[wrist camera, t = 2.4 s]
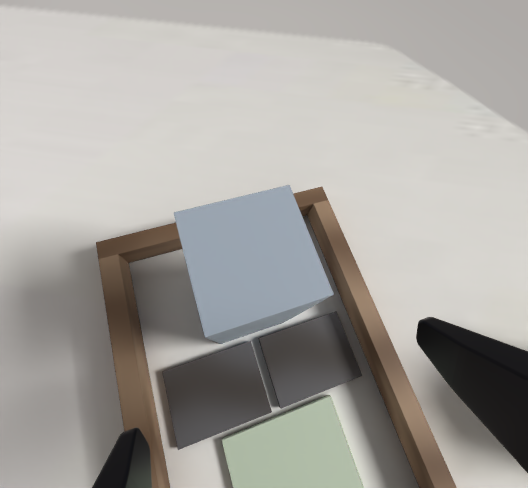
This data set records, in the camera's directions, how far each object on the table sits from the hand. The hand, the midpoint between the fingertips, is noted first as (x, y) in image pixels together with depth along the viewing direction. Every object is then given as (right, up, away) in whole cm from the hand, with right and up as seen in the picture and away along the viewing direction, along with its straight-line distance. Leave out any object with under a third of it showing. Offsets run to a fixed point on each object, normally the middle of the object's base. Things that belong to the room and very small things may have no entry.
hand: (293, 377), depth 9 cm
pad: (+1, -10, +8) cm, 13 cm away
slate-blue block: (-2, 0, +12) cm, 12 cm away
